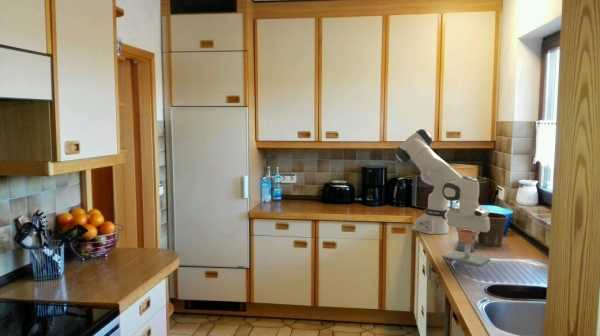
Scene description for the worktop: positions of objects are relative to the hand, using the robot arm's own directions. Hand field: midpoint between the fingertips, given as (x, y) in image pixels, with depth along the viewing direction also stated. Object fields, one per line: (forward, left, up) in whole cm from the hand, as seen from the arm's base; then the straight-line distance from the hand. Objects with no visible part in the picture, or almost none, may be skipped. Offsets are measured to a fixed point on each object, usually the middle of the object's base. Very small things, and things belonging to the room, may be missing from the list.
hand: (467, 237), depth 224 cm
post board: (0, 0, -11) cm, 11 cm away
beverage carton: (-9, +23, -12) cm, 28 cm away
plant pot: (-3, +37, -11) cm, 39 cm away
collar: (0, 0, -2) cm, 2 cm away
